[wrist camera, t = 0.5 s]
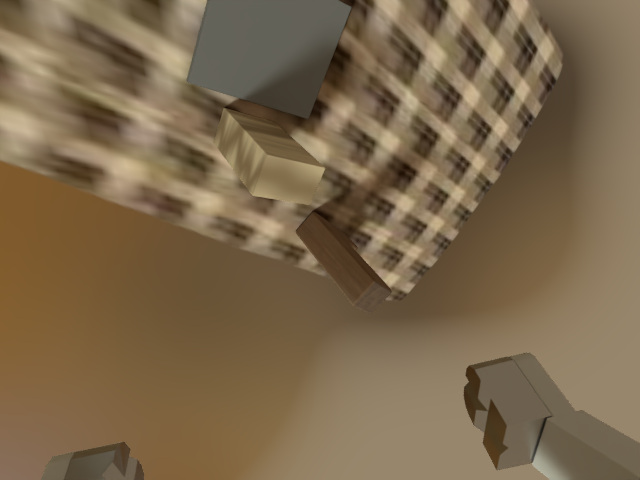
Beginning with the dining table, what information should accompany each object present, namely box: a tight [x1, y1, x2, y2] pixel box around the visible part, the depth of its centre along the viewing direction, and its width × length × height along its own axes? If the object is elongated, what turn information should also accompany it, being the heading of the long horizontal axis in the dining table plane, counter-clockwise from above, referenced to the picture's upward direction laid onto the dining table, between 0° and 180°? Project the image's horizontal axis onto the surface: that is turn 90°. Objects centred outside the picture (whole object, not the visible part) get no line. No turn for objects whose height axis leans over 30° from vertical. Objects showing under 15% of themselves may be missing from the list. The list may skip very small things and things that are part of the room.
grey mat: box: [187, 0, 352, 119], centre depth 49 cm, size 14×16×1 cm
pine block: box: [214, 108, 325, 205], centre depth 49 cm, size 4×7×14 cm, turn 65°
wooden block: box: [296, 212, 392, 314], centre depth 64 cm, size 9×4×18 cm, turn 43°
